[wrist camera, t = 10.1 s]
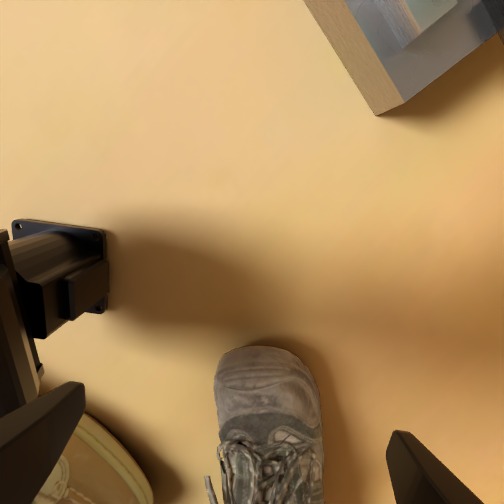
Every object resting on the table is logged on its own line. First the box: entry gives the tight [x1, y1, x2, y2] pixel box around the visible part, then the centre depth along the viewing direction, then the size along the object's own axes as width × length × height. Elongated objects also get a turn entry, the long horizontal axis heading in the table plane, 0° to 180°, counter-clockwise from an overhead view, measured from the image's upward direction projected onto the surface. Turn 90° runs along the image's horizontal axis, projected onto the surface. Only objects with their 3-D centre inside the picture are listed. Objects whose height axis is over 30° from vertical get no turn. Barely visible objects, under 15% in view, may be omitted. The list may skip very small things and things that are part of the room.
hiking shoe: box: [204, 346, 325, 504], centre depth 22 cm, size 9×21×12 cm
